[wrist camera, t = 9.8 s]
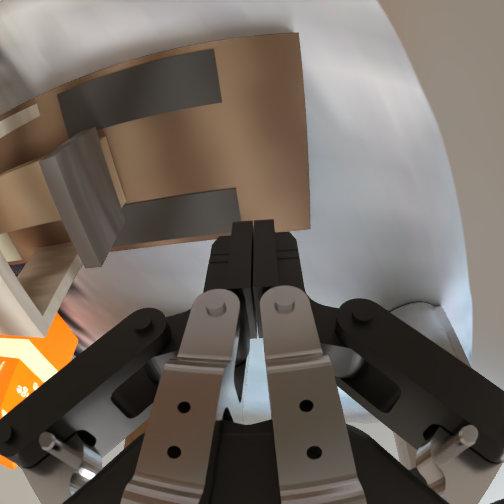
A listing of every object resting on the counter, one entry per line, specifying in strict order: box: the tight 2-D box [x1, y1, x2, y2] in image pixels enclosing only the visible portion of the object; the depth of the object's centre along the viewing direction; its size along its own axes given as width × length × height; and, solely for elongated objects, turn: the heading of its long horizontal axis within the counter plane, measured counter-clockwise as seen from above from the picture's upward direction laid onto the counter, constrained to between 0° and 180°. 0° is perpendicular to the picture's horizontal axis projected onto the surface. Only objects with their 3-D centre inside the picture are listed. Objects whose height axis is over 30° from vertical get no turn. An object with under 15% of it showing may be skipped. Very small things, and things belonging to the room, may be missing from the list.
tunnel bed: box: [0, 33, 310, 338], centre depth 17 cm, size 42×14×11 cm, turn 97°
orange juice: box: [0, 313, 78, 470], centre depth 25 cm, size 8×9×20 cm
